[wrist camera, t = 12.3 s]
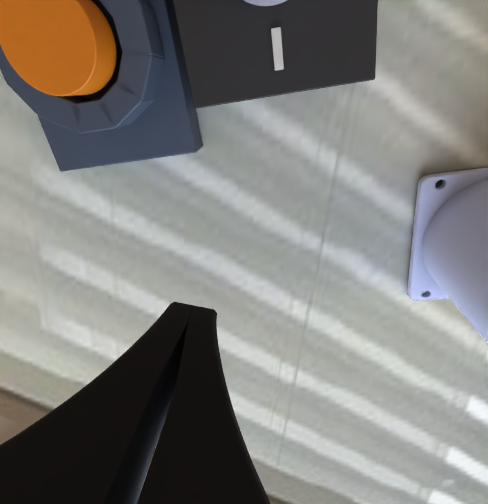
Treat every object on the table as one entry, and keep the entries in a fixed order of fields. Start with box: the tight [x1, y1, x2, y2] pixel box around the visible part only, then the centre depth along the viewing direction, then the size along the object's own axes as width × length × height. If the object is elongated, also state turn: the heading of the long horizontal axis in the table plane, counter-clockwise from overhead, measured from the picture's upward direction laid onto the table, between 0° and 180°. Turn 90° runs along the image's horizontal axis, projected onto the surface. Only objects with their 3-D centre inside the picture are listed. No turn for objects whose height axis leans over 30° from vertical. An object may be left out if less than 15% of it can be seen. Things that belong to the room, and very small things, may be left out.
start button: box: [0, 0, 116, 96], centre depth 12 cm, size 4×4×2 cm
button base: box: [0, 0, 203, 171], centre depth 14 cm, size 10×8×4 cm
